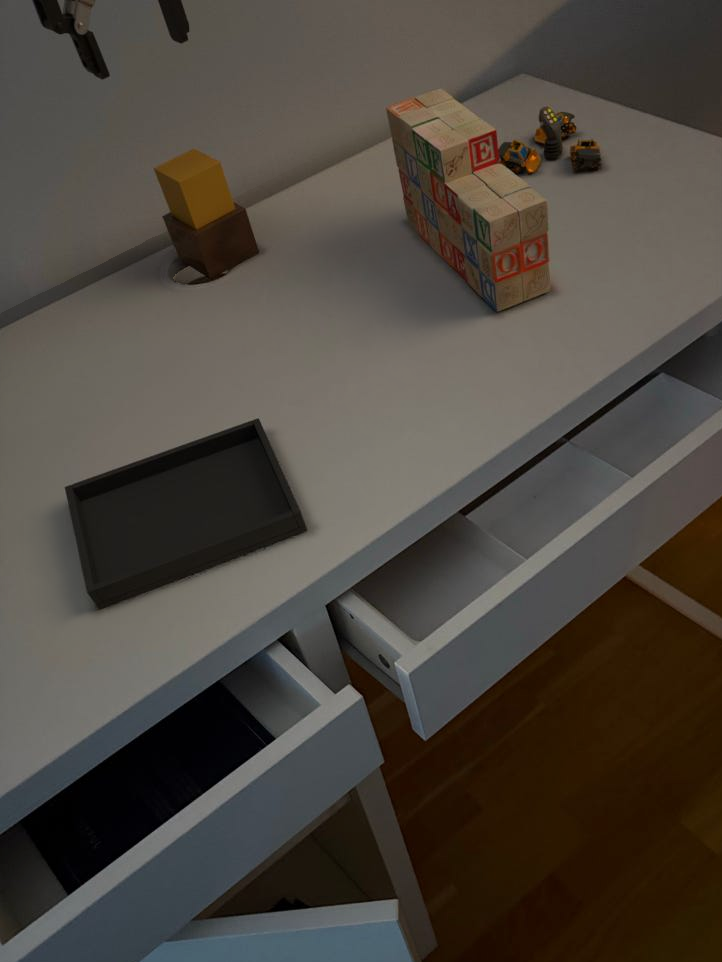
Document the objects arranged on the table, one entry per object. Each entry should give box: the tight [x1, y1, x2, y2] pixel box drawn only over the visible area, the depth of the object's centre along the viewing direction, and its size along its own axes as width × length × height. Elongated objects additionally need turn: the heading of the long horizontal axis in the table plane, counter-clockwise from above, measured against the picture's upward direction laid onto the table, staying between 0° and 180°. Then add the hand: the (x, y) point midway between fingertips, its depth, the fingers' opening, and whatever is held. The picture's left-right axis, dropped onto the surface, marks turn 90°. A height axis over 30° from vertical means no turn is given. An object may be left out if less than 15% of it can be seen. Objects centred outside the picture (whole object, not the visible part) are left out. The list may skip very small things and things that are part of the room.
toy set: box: [498, 106, 602, 174], centre depth 105 cm, size 12×11×5 cm
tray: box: [64, 417, 308, 610], centre depth 77 cm, size 17×13×2 cm
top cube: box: [153, 148, 235, 230], centre depth 97 cm, size 5×5×5 cm
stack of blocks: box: [385, 88, 551, 313], centre depth 92 cm, size 21×6×12 cm, turn 27°
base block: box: [162, 201, 260, 280], centre depth 101 cm, size 6×6×5 cm
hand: (141, 58), depth 86 cm, fingers open, 8 cm apart
